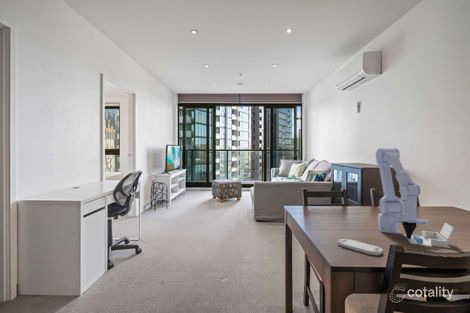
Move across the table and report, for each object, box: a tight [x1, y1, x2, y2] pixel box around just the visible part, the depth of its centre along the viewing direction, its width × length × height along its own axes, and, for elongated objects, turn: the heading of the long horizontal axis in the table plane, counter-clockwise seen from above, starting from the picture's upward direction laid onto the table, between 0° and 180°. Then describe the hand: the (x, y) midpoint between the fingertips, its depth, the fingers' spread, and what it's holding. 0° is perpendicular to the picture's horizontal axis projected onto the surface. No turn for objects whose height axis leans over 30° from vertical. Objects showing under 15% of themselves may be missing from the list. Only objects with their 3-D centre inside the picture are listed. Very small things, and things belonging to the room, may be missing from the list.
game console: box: [337, 238, 384, 257], centre depth 117 cm, size 18×2×8 cm
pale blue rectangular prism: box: [412, 234, 423, 243], centre depth 127 cm, size 2×7×2 cm, turn 160°
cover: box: [439, 222, 455, 241], centre depth 123 cm, size 6×9×1 cm
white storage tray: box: [403, 230, 451, 249], centre depth 127 cm, size 15×14×3 cm
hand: (408, 238), depth 128 cm, fingers closed
